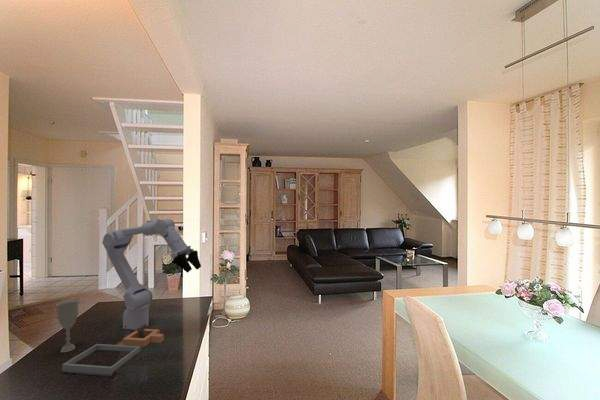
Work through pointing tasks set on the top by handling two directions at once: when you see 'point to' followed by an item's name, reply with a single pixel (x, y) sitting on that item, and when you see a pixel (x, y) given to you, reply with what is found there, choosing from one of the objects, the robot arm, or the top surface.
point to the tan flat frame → (150, 337)
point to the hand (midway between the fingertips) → (194, 269)
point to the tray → (99, 370)
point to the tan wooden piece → (141, 333)
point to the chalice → (67, 319)
